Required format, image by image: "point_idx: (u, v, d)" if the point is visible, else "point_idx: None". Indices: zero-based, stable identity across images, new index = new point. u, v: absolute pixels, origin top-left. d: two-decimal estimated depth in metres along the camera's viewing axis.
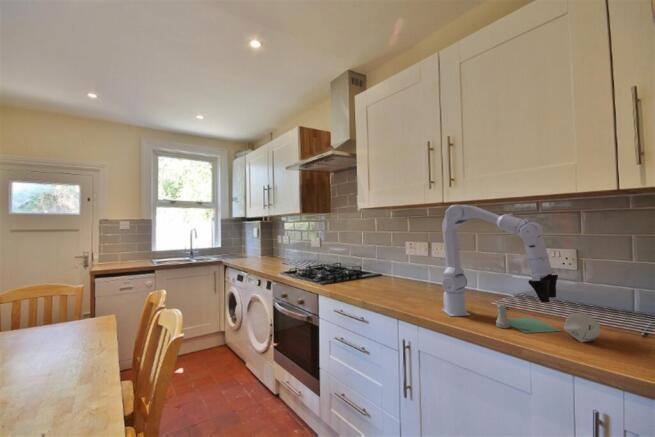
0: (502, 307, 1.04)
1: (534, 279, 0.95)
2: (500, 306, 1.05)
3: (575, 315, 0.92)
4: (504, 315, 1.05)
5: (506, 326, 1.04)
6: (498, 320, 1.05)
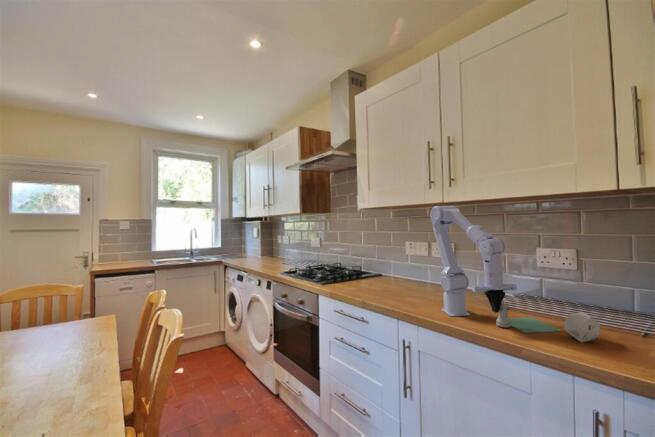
0: (504, 306, 1.04)
1: (473, 290, 1.06)
2: (502, 305, 1.05)
3: (575, 315, 0.92)
4: (505, 314, 1.05)
5: (506, 325, 1.04)
6: (499, 319, 1.05)
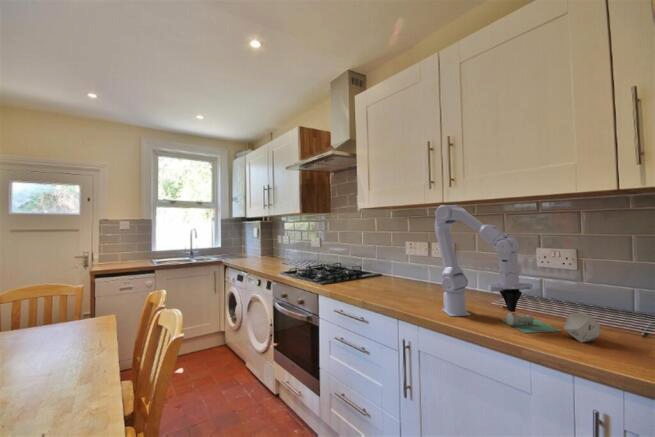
0: (531, 319, 1.05)
1: (488, 289, 1.06)
2: (531, 317, 1.05)
3: (575, 315, 0.92)
4: (523, 320, 1.05)
5: (515, 321, 1.04)
6: (516, 314, 1.05)
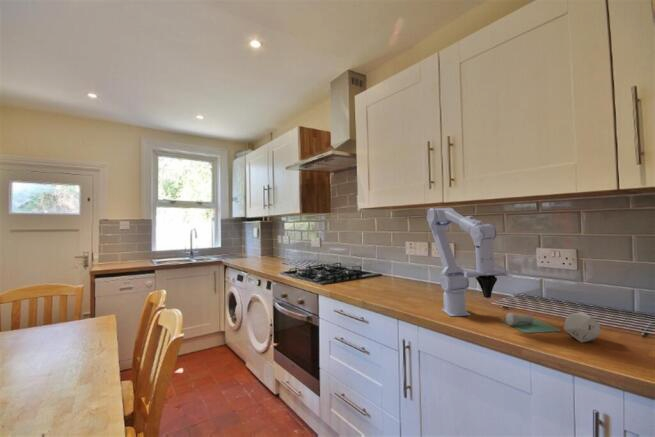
0: (531, 319, 1.05)
1: (464, 276, 1.06)
2: (531, 317, 1.05)
3: (575, 315, 0.92)
4: (523, 320, 1.05)
5: (515, 321, 1.04)
6: None
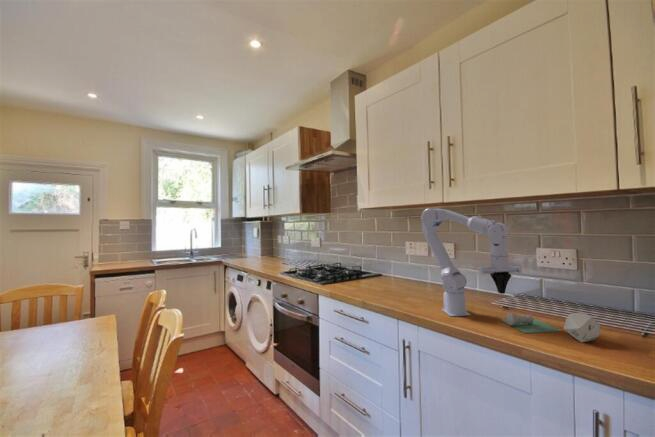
0: (531, 319, 1.05)
1: (479, 272, 1.11)
2: (531, 317, 1.05)
3: (575, 315, 0.92)
4: (523, 320, 1.05)
5: (515, 321, 1.04)
6: None
